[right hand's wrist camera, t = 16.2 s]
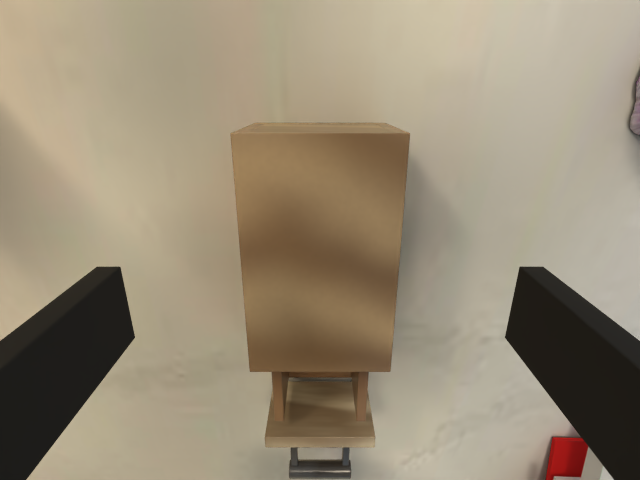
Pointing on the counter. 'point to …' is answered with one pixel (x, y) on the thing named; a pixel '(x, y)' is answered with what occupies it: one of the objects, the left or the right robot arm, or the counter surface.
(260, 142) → the cabinet
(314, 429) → the drawer
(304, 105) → the counter surface
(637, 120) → the figurine
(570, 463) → the toy
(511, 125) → the counter surface
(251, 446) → the counter surface
